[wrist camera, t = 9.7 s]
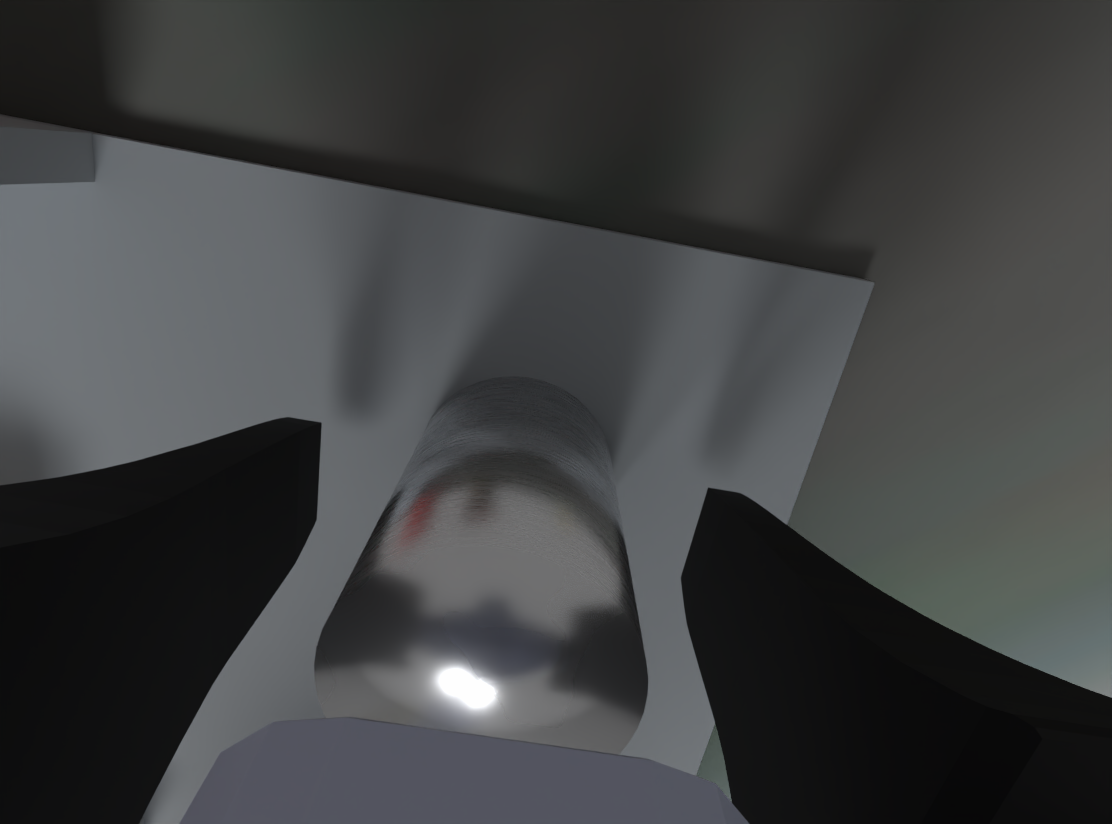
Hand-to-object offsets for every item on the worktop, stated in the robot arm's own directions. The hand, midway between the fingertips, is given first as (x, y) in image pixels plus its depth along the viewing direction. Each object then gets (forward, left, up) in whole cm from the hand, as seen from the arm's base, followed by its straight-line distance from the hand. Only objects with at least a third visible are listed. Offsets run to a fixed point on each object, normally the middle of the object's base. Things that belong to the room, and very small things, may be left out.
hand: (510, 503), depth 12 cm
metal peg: (0, 0, -2) cm, 2 cm away
